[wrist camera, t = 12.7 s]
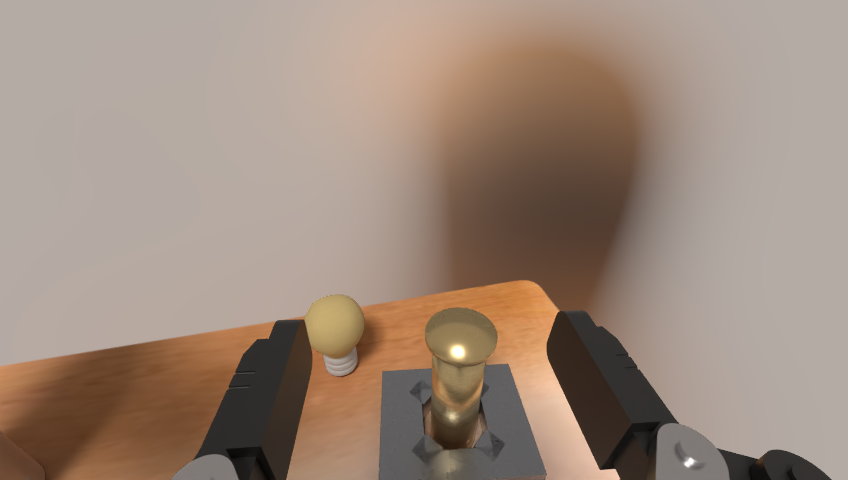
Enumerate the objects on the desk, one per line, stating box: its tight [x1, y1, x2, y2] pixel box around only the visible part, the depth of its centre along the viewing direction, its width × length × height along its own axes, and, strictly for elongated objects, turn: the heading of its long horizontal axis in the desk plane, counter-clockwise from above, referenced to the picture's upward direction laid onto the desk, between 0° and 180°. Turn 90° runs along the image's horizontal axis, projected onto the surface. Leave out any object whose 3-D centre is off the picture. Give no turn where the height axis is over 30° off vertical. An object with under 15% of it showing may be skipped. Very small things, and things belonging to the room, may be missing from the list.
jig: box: [379, 364, 547, 480], centre depth 32 cm, size 14×11×2 cm
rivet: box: [425, 308, 498, 450], centre depth 29 cm, size 6×6×14 cm
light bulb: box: [304, 295, 365, 376], centre depth 37 cm, size 6×6×10 cm
